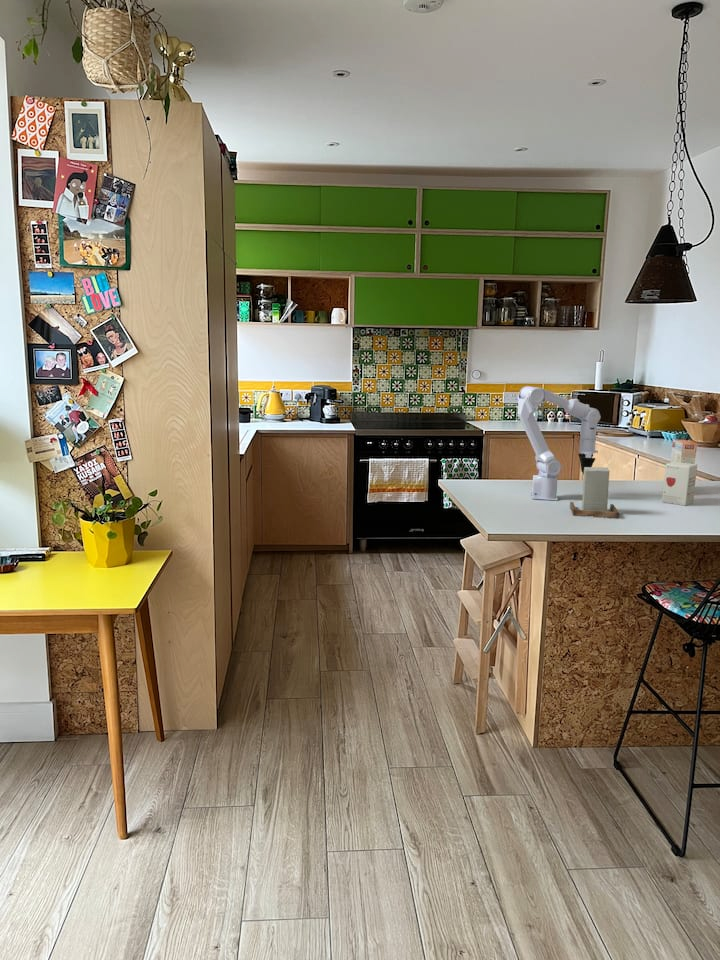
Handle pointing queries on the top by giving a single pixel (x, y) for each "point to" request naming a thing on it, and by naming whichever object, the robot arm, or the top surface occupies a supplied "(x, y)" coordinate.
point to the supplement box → (679, 483)
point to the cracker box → (683, 451)
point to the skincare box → (595, 488)
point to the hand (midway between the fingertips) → (585, 473)
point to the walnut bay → (595, 512)
